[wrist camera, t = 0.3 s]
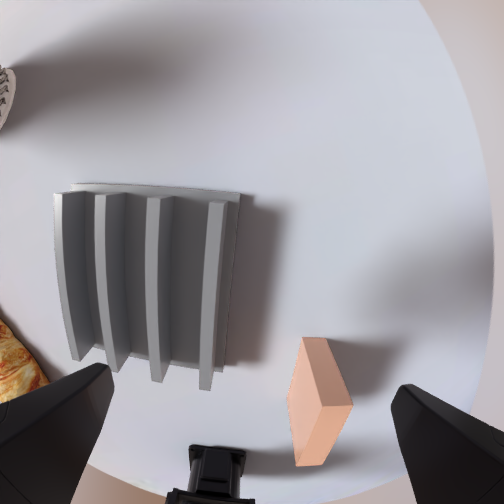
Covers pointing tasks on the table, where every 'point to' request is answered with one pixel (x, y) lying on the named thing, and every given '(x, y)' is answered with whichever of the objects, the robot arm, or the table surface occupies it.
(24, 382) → the croissant
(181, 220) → the dish rack
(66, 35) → the table surface
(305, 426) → the terracotta plate
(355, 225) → the table surface
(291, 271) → the table surface
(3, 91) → the black-white patterned cylinder
